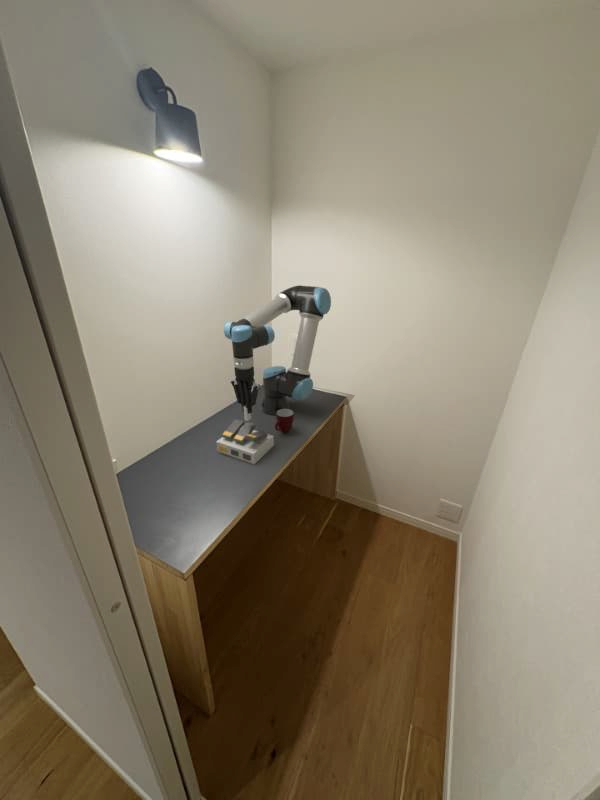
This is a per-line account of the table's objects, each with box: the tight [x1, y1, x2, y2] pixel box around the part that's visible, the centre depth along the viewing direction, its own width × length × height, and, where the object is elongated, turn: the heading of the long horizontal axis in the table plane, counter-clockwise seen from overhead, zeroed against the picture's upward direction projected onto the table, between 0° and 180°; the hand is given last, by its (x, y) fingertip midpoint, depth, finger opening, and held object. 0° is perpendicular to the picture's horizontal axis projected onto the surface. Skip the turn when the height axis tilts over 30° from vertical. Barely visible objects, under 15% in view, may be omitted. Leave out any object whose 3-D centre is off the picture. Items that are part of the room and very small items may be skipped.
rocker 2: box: [234, 421, 256, 444], centre depth 133 cm, size 10×4×2 cm, turn 153°
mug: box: [274, 408, 295, 434], centre depth 146 cm, size 10×8×10 cm
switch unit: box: [215, 426, 275, 465], centre depth 135 cm, size 15×19×7 cm
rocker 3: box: [245, 430, 269, 442], centre depth 130 cm, size 10×4×2 cm, turn 153°
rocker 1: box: [221, 418, 245, 440], centre depth 135 cm, size 10×4×2 cm, turn 153°
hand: (247, 419), depth 133 cm, fingers closed
